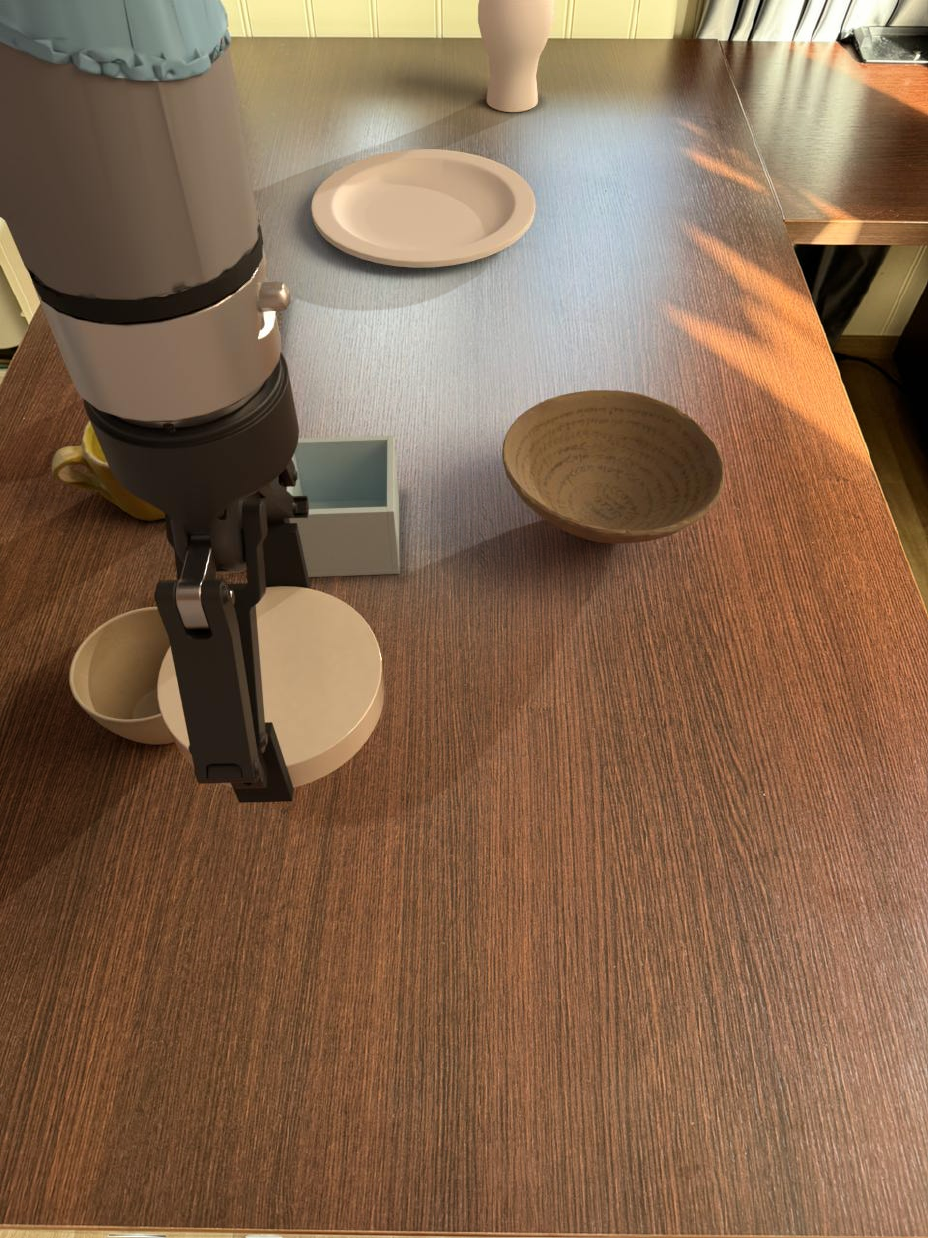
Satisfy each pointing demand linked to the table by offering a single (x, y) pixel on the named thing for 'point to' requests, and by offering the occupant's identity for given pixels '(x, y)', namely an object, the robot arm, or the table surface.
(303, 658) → the small plate
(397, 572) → the container
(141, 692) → the flower pot
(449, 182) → the plate
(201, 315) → the robot arm
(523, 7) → the cup
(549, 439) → the bowl
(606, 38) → the table surface
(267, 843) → the table surface
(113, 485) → the mug
